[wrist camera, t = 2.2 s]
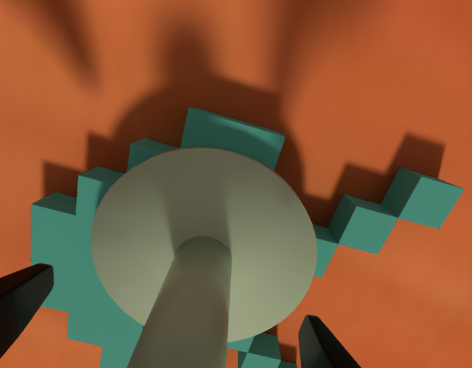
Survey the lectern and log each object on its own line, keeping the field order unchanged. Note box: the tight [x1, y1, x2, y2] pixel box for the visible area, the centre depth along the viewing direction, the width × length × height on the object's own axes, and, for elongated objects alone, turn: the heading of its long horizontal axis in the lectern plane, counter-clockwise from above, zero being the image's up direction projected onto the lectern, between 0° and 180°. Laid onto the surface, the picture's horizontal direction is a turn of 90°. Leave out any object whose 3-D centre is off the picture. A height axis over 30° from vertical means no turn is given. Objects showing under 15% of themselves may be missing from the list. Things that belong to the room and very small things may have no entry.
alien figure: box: [31, 107, 464, 368], centre depth 15 cm, size 20×2×20 cm
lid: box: [91, 146, 317, 368], centre depth 10 cm, size 11×11×7 cm
